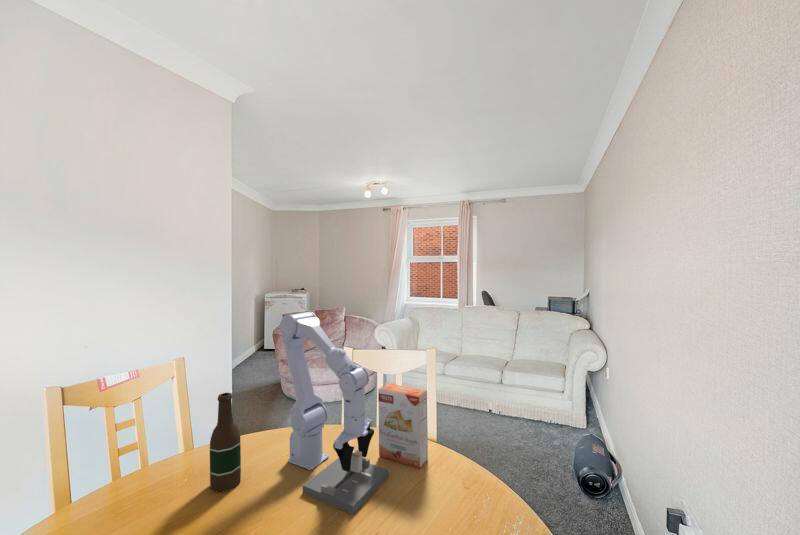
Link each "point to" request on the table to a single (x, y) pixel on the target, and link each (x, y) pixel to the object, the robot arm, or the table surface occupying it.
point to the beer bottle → (225, 448)
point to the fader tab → (356, 461)
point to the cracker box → (403, 424)
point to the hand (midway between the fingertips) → (354, 462)
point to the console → (346, 485)
